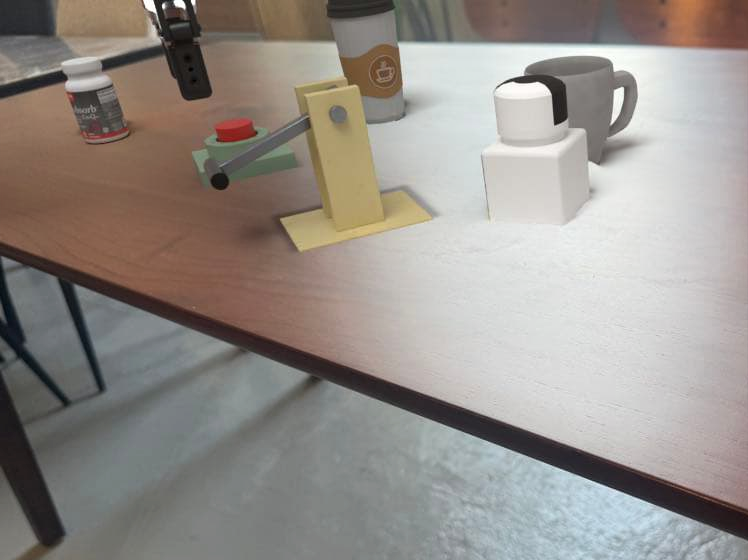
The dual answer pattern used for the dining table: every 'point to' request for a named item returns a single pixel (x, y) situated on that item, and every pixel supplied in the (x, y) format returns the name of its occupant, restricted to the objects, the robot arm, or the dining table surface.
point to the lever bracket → (344, 173)
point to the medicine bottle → (535, 155)
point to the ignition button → (235, 130)
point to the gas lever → (254, 151)
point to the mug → (591, 96)
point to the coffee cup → (370, 55)
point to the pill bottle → (94, 101)
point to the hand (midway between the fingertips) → (192, 87)
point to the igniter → (264, 165)
